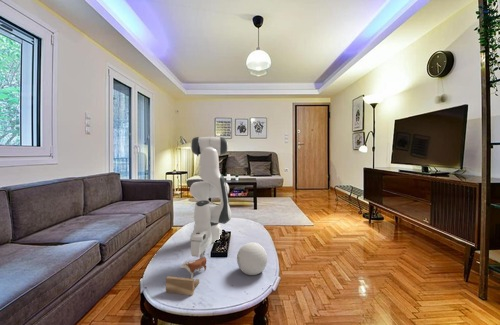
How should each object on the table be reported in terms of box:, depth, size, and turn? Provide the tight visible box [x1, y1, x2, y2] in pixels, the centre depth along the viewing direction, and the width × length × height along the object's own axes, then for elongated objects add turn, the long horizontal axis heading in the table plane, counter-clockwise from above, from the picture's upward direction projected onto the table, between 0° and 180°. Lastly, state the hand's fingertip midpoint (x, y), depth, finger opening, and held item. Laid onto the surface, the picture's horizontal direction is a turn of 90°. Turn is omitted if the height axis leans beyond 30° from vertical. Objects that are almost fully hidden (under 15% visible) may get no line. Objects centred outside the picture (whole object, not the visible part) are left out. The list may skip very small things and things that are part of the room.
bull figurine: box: [180, 256, 208, 279], centre depth 115 cm, size 4×13×8 cm, turn 135°
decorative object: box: [236, 241, 268, 276], centre depth 117 cm, size 15×15×15 cm
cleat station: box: [165, 276, 200, 296], centre depth 104 cm, size 10×12×6 cm
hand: (202, 258), depth 125 cm, fingers closed
